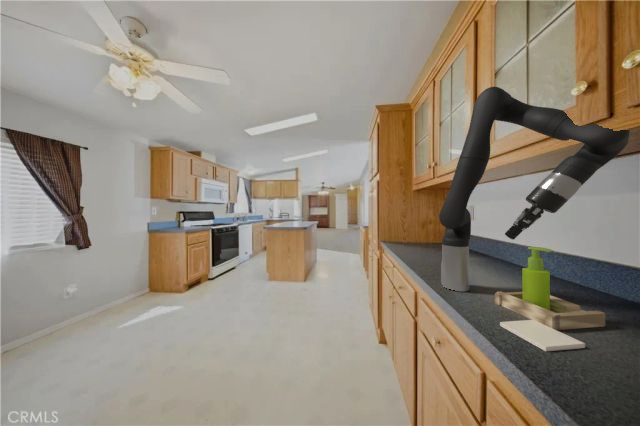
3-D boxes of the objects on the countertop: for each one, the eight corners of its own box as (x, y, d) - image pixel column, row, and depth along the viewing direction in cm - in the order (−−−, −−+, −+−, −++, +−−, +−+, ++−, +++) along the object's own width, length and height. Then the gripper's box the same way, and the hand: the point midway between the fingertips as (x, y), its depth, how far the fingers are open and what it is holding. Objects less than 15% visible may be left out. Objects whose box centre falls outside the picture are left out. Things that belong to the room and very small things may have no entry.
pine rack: (494, 303, 74) (494, 291, 73) (537, 301, 75) (537, 289, 75) (552, 330, 57) (552, 315, 57) (605, 326, 59) (605, 311, 59)
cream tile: (500, 325, 60) (500, 322, 60) (533, 323, 61) (533, 319, 61) (545, 351, 49) (545, 346, 49) (585, 347, 50) (585, 343, 50)
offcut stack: (530, 305, 72) (530, 293, 72) (544, 304, 72) (544, 292, 72) (572, 322, 61) (572, 308, 61) (588, 321, 61) (588, 307, 61)
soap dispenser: (545, 321, 62) (545, 249, 62) (517, 310, 68) (517, 246, 68) (559, 318, 63) (559, 248, 63) (531, 308, 70) (530, 245, 70)
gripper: (533, 188, 70) (495, 229, 75) (541, 182, 59) (495, 229, 64) (562, 202, 66) (519, 243, 71) (576, 197, 55) (524, 247, 60)
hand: (508, 237), depth 68 cm, fingers open, 8 cm apart
